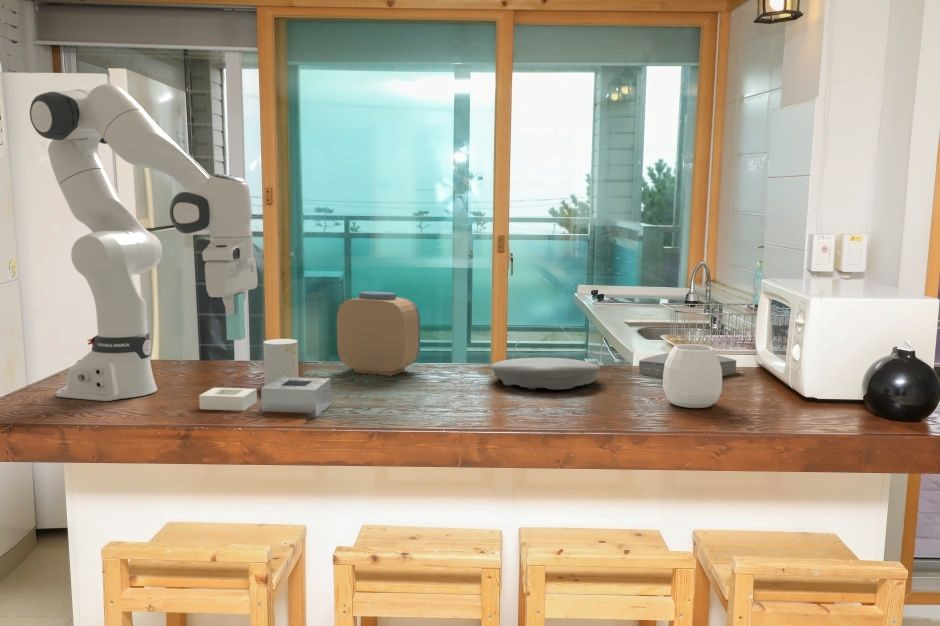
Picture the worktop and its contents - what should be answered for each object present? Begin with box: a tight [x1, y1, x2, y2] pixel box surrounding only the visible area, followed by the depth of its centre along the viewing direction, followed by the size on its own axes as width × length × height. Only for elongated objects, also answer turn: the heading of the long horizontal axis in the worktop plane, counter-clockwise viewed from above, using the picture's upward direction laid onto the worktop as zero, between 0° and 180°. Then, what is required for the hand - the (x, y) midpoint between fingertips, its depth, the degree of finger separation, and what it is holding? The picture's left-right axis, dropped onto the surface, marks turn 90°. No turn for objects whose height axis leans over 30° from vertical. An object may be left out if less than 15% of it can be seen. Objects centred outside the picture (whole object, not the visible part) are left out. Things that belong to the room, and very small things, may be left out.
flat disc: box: [490, 357, 601, 391], centre depth 221 cm, size 28×28×4 cm
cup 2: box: [662, 343, 723, 409], centre depth 197 cm, size 13×13×14 cm
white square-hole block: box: [198, 387, 258, 412], centre depth 191 cm, size 10×8×4 cm
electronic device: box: [638, 352, 737, 379], centre depth 235 cm, size 19×22×5 cm
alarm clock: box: [336, 291, 421, 377], centre depth 232 cm, size 21×10×22 cm, turn 66°
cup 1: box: [263, 338, 299, 386], centre depth 211 cm, size 8×8×12 cm
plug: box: [225, 293, 246, 341], centre depth 188 cm, size 3×3×10 cm
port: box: [260, 376, 332, 418], centre depth 191 cm, size 12×12×6 cm
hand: (235, 313), depth 188 cm, fingers closed on plug, 3 cm apart
